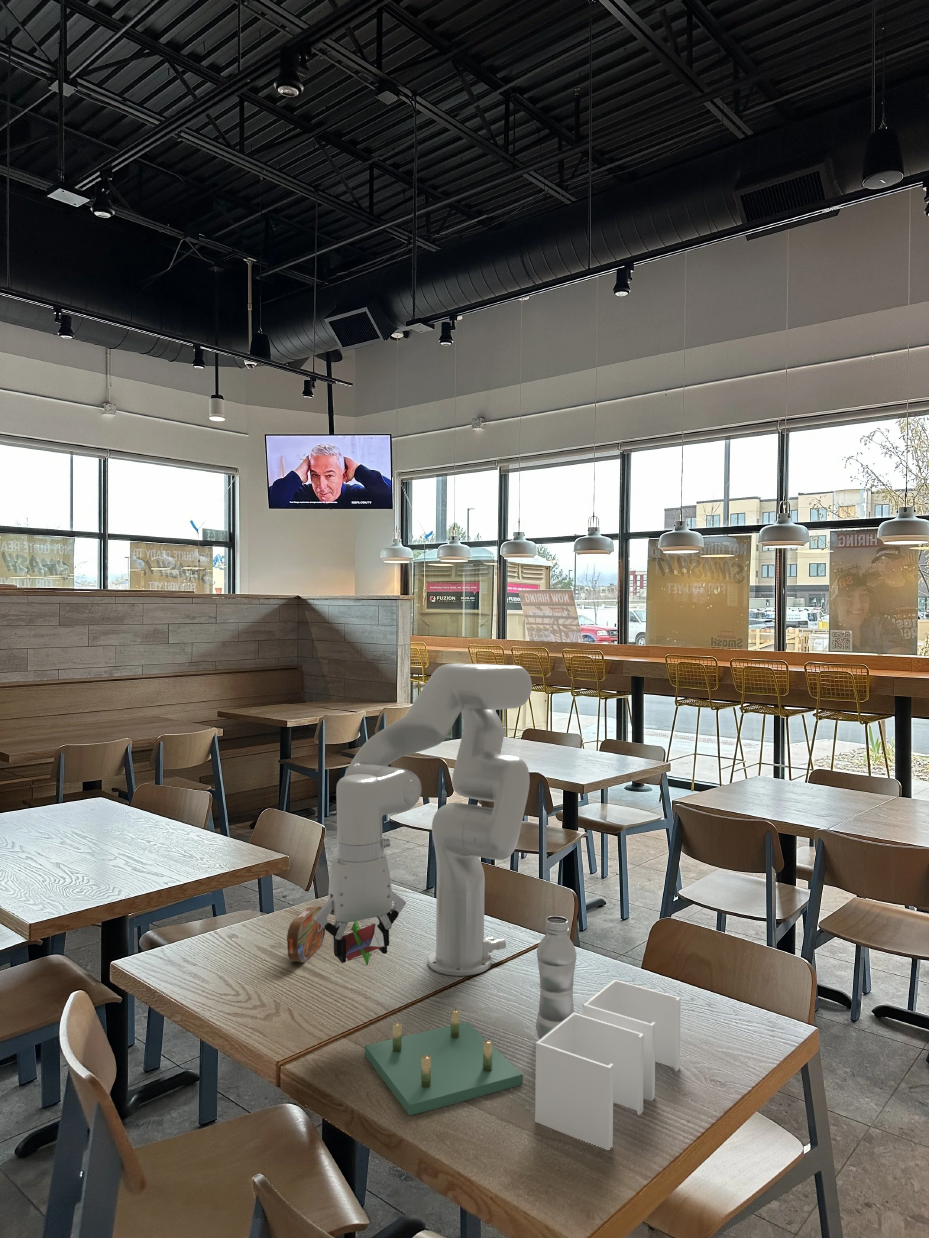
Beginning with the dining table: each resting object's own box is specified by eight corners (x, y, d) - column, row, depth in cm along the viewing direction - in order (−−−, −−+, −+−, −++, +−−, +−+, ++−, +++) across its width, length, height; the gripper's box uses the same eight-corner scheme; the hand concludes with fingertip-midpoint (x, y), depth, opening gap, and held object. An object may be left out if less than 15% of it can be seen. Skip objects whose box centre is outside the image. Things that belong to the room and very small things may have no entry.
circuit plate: (467, 1030, 141) (467, 1021, 141) (522, 1084, 125) (522, 1074, 125) (364, 1054, 133) (364, 1045, 133) (409, 1115, 116) (409, 1104, 116)
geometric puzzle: (325, 956, 139) (354, 918, 139) (334, 939, 146) (361, 902, 145) (361, 982, 139) (389, 944, 138) (367, 964, 146) (395, 927, 145)
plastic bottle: (548, 1057, 132) (549, 929, 132) (528, 1037, 138) (529, 915, 138) (584, 1049, 135) (585, 924, 135) (562, 1030, 141) (563, 910, 141)
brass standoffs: (457, 1033, 137) (457, 1008, 137) (493, 1070, 126) (494, 1043, 126) (391, 1048, 131) (391, 1023, 131) (423, 1088, 120) (423, 1060, 120)
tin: (299, 969, 165) (299, 926, 165) (283, 968, 165) (284, 925, 165) (326, 940, 179) (327, 901, 179) (312, 939, 180) (313, 900, 180)
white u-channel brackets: (613, 1047, 136) (614, 979, 136) (679, 1069, 130) (680, 997, 130) (535, 1123, 115) (535, 1042, 115) (608, 1152, 109) (609, 1067, 109)
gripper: (399, 836, 149) (401, 937, 149) (303, 851, 141) (305, 957, 142) (416, 848, 142) (418, 953, 143) (316, 864, 134) (318, 975, 135)
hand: (361, 954), depth 142 cm, fingers closed on geometric puzzle, 6 cm apart
